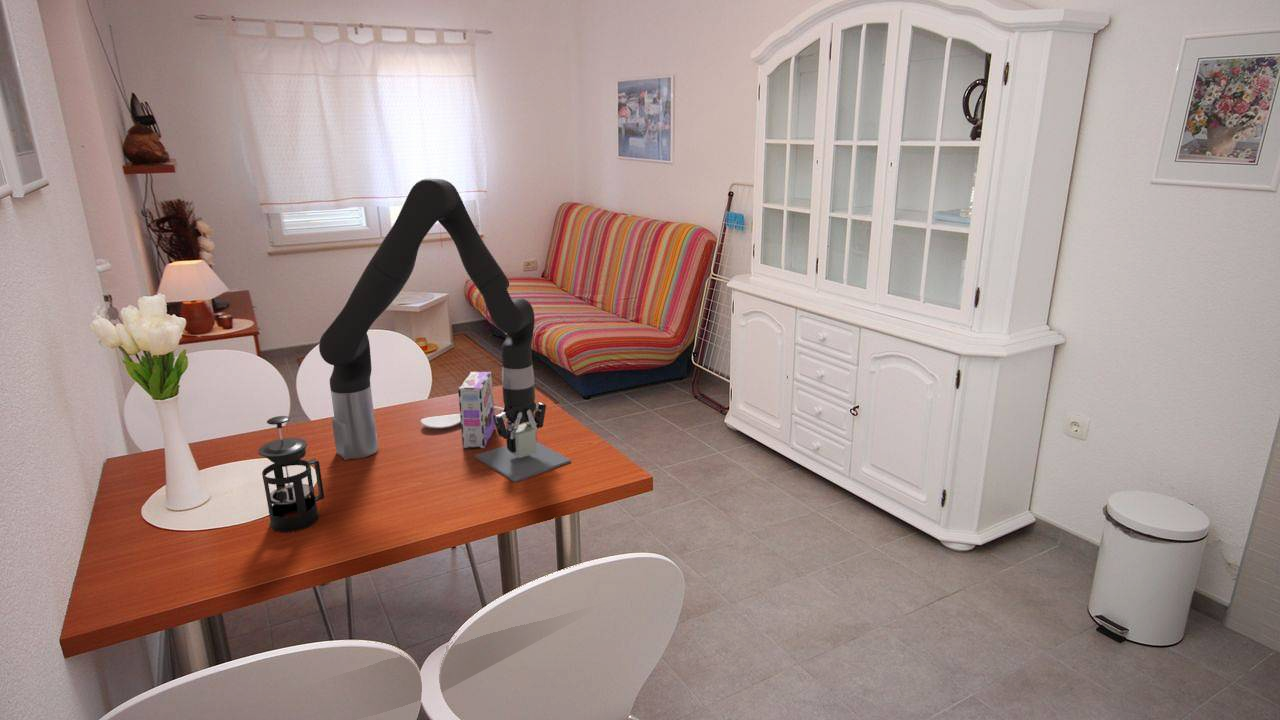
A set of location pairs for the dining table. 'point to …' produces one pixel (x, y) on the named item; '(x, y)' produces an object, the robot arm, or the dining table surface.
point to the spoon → (445, 420)
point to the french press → (295, 494)
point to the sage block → (525, 441)
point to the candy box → (476, 409)
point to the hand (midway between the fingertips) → (522, 448)
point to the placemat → (522, 462)
